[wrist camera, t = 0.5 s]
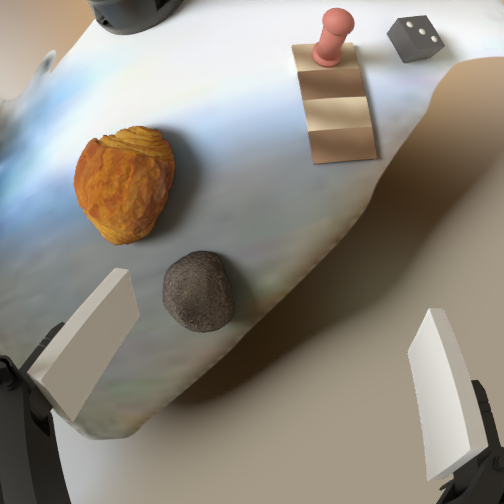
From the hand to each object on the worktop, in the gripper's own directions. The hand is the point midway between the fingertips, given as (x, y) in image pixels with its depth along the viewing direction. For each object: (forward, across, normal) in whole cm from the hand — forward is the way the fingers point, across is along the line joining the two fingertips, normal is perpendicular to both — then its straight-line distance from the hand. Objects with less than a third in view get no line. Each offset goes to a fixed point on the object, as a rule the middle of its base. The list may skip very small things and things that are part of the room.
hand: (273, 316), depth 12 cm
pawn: (+31, +2, +14) cm, 34 cm away
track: (+30, +4, +8) cm, 31 cm away
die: (+34, +14, +19) cm, 42 cm away
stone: (+21, -11, -16) cm, 29 cm away
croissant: (+25, -22, -3) cm, 33 cm away
